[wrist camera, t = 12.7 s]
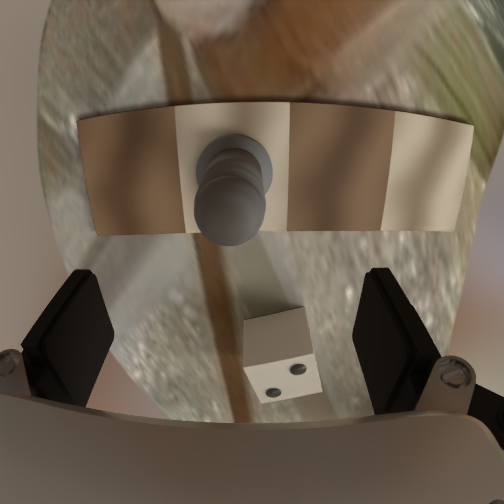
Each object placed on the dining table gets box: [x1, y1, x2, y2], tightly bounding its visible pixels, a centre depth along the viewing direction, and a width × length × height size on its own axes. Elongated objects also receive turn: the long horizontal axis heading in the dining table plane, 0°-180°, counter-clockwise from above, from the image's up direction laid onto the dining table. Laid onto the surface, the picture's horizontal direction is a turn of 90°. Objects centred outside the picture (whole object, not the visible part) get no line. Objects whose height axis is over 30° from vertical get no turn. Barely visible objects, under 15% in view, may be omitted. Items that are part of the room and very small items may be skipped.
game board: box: [77, 102, 474, 236], centre depth 23 cm, size 32×10×1 cm, turn 91°
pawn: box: [194, 134, 273, 246], centre depth 19 cm, size 5×5×9 cm
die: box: [243, 307, 322, 404], centre depth 29 cm, size 6×6×6 cm
